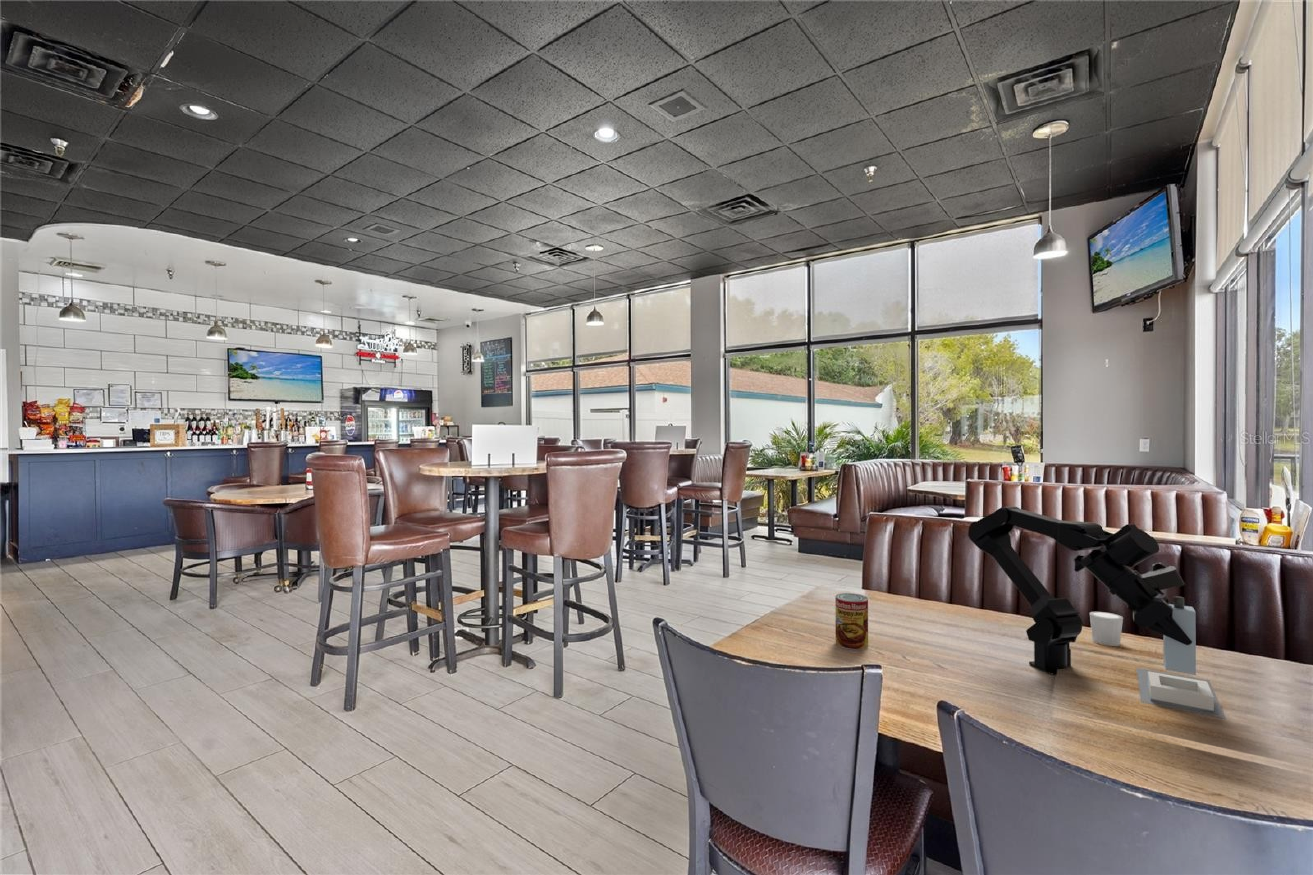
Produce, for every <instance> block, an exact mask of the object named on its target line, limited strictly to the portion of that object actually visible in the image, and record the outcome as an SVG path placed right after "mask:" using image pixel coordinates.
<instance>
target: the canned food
mask: <svg viewBox="0 0 1313 875" xmlns="http://www.w3.org/2000/svg"><path fill="white" fill-rule="evenodd" d="M835 645H836V646H837V647H840V648H842V649H846V650H851V651H861V650H862V651H863V650H866V649H868V647H869V598H868V596H866V595H863V594H859V593H851V592H848V593H847V592H846V593H845V592H843V593H837V594H836V595H835Z"/></svg>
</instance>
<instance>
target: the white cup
mask: <svg viewBox="0 0 1313 875" xmlns="http://www.w3.org/2000/svg"><path fill="white" fill-rule="evenodd" d="M1089 618H1090V619H1089V622H1090V629H1091V636H1092V637H1091V638H1092V641H1093V643H1096V644H1098V643H1099V645H1103V646H1108V647H1109V646H1110V647H1118V646H1119V647H1120V645H1121V640H1122V639H1121V638H1122V631H1123V630H1122V629H1123V622H1124V621H1123V620H1124V617H1123V616H1121V615H1119V614H1117V613H1113V612H1112V613H1111V612H1105V611H1090V612H1089Z"/></svg>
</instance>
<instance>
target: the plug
mask: <svg viewBox="0 0 1313 875" xmlns="http://www.w3.org/2000/svg"><path fill="white" fill-rule="evenodd" d="M1168 605H1169V606H1172V608H1173V616H1172V618H1173V619H1174V620H1175V621H1176V623H1177V624H1178V625H1179V626H1180V627H1181V629H1182V630H1183V631H1184V632H1185V634H1186V635H1187V636H1188V637H1189V638H1190V640H1191V641H1192V643H1191V644H1190V645H1185V644H1183V643H1181V642H1178V641H1176V640H1174V639H1172V638H1170V637H1167V636H1165V635H1163V634H1162V635H1163V636H1162V637H1163V640H1162V642H1163V644H1162V645H1163V647H1162V648H1163V650H1162V651H1163V652H1162V653H1163V659H1162V660H1163V663H1162V664H1163V665H1164V669H1165V670H1166V671H1169V672H1173V673H1174V672H1177V673H1182V674H1187V675H1193V676H1196V675H1197V664H1196V663H1197V658H1196V656H1197V650H1196V649H1197V647H1196V646H1197V642H1196V639H1197V638H1196V635H1197V630H1196V628H1197V627H1196V624H1197V623H1196V620H1197V618H1196V615H1197V614H1196V612H1197V611H1196V610H1195V609H1194V606H1190V605H1189V606H1188V605H1185V597H1183V596H1178V595H1176V596H1173V604H1171V603H1169V604H1168Z"/></svg>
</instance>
